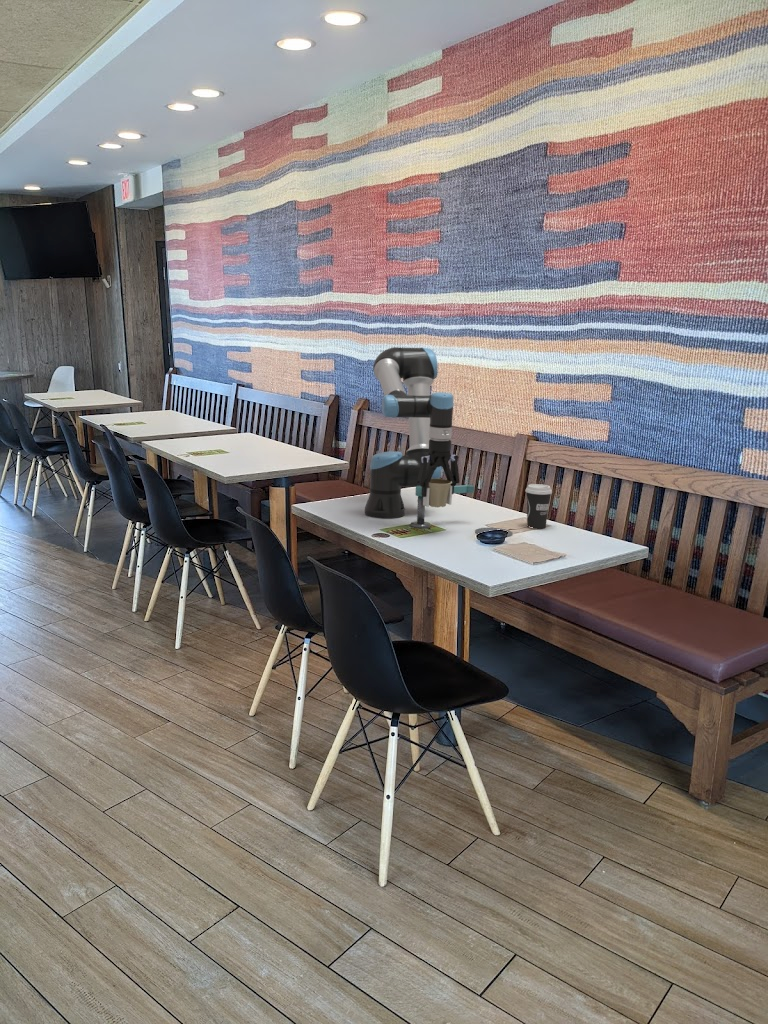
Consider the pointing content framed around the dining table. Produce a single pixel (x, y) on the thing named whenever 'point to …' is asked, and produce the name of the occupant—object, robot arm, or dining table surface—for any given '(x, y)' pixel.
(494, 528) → the pad
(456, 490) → the teal paddle stick
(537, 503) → the coffee cup
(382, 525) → the dining table surface
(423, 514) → the grey pedestal stand
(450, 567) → the dining table surface
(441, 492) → the flower pot
